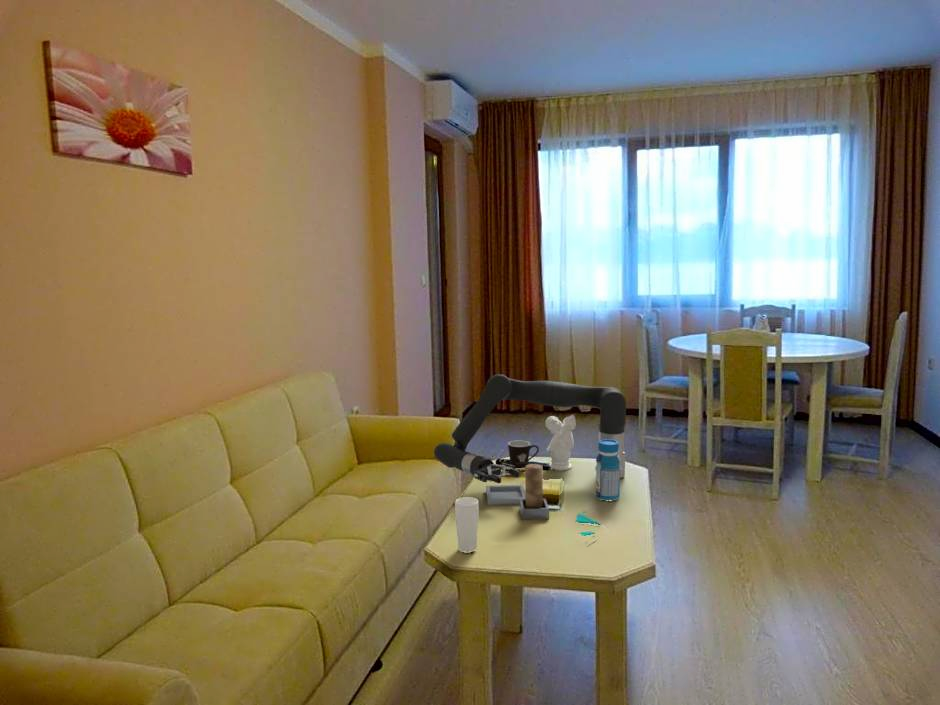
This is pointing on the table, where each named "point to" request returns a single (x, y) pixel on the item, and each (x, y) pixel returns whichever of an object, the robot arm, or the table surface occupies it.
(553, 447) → the cherub figurine
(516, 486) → the tray
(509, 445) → the coffee mug
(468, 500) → the drinking glass
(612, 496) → the beverage bottle
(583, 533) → the cloth
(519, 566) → the table surface
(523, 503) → the holder cup
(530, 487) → the canister
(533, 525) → the table surface
